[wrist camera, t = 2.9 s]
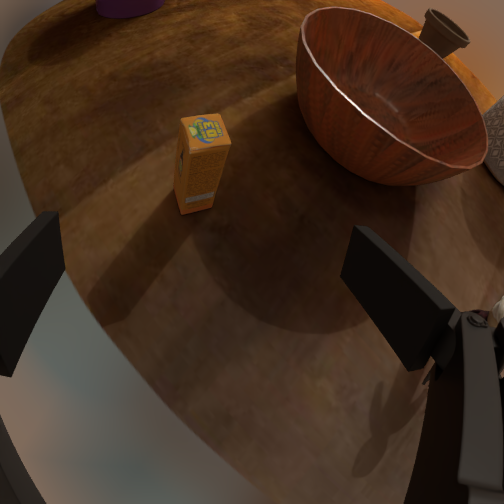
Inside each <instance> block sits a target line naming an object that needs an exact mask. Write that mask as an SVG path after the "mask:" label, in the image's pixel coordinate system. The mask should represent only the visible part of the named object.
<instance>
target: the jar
mask: <svg viewBox="0 0 504 504" xmlns="http://www.w3.org/2000/svg"><path fill="white" fill-rule="evenodd" d="M164 2H165V0H96V11H97V13H98V14H100V15H101V16H104V17H107V18H131V17H136V16H141V15H144V14H147V13H150V12H153V11H155V10H157V9H158V8H160V7H161V6H162V5H163V4H164Z"/></svg>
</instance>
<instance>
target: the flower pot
mask: <svg viewBox="0 0 504 504" xmlns="http://www.w3.org/2000/svg"><path fill="white" fill-rule="evenodd" d="M425 18H426V21H425V24H424V26H423V29H422V31H421V34H420V36H419V40H420V41H422V42H423V43H424V44H426V45H427V46H428V47H429V48H431V49H432V50H433V51H434V52H435V53H436V54H437V55H438V56H440V57H441V58H442V59H443V58H445V57H446V56H448V55H449V54H451V53H452V52H454V51H455V50H457V49H458V48H460V47H461V48H465V47H466V46H467V45H468V44H469V43H470V39H469V38H468V36H467V35H466V33H465V32H464V31H463V30H462V29H461V28H460V27H459V26H458V25H457V24H456V23H454V22H453V21H452V20H451V19H450V18H448V17H447V16H445V15H444V14H442V13H441V12H439V11H437V10H435V9H433V8H429V9H428V11H427V12H426V14H425Z"/></svg>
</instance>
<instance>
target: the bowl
mask: <svg viewBox="0 0 504 504" xmlns="http://www.w3.org/2000/svg"><path fill="white" fill-rule="evenodd" d="M296 82H297V96H298V103H299V107H300V110H301V112H302V115H303V118H304V120H305V123H306V125H307V128H308V129H309V131H310V132H311V134H312V135H313V137H314V138H315V139H316V141H317V142H318V144H319V145H320V146H321V147H322V148H323V149H324V150H325V151H326V152H327V153H328V154H329V155H330V156H331V157H332V158H333V160H335V161H336V162H338V163H339V164H340V165H342V166H343V167H345V168H346V169H347V170H349V171H350V172H352V173H354V174H356V175H358V176H360V177H362V178H364V179H366V180H368V181H372V182H376V183H380V184H384V185H388V186H416V185H424V184H429V183H433V182H437V181H440V180H444V179H447V178H450V177H452V176H455V175H458V174H460V173H462V172H465V171H467V170H469V169H471V168H473V167H475V166H477V165H479V164H481V163H483V161H484V159H485V157H486V155H487V152H488V134H487V130H486V126H485V122H484V119H483V116H482V114H481V112H480V110H479V108H478V106H477V103H476V101H475V100H474V98H473V96H472V95H471V93H470V92H469V90H468V89H467V87H466V86H465V84H464V83H463V82H462V80H461V79H460V78H459V77H458V76H457V74H456V73H455V72H454V71H453V70H452V68H451V67H450V66H449V65H448V64H447V63H446V62H445V61H444V60H443V59H442V58H441V57H440V56H438V55H437V54H436V53H435V52H434V51H433V50H432V49H431V48H429V47H428V46H427V45H426V44H424V43H423V42H422V41H420V40H419V39H418V38H416V37H415V36H413V35H412V34H410V33H409V32H407V31H405V30H404V29H402V28H400V27H398V26H397V25H395V24H393V23H391V22H389V21H387V20H385V19H382V18H380V17H378V16H375V15H373V14H370V13H366V12H363V11H359V10H356V9H352V8H343V7H326V8H319V9H316V10H315V11H313V12H311V13H309V14H307V15H306V17H305V19H304V21H303V23H302V25H301V28H300V33H299V39H298V46H297V56H296Z"/></svg>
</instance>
